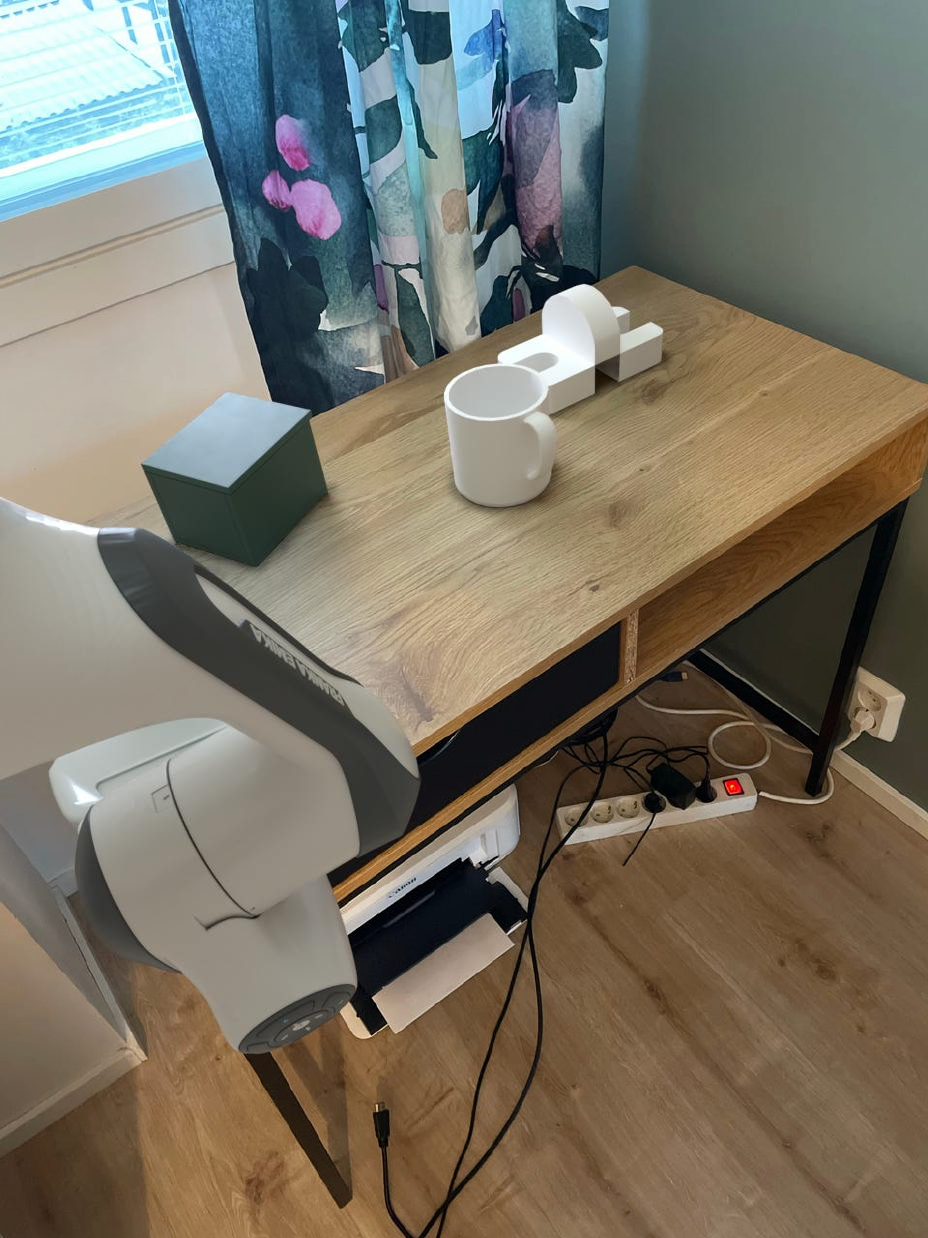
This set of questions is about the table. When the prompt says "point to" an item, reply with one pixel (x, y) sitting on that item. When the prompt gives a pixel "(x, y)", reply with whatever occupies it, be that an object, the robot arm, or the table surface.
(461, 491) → the mug
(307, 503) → the chest
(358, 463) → the table surface
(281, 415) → the lid
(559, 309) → the slotted bracket
